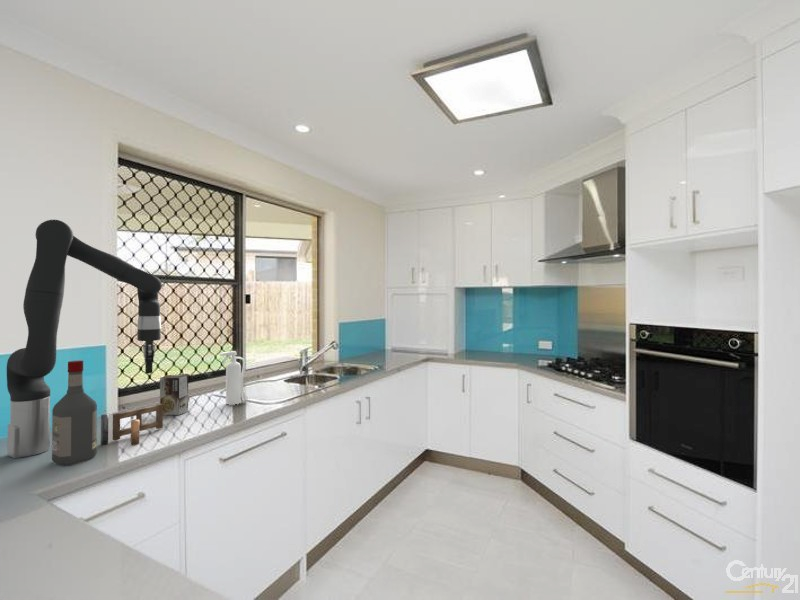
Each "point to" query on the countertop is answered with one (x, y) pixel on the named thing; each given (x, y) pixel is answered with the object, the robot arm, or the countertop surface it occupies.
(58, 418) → the liquor
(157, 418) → the gate
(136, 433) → the post
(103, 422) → the hinge post
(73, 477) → the countertop surface
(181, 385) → the coffee box
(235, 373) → the fire extinguisher
